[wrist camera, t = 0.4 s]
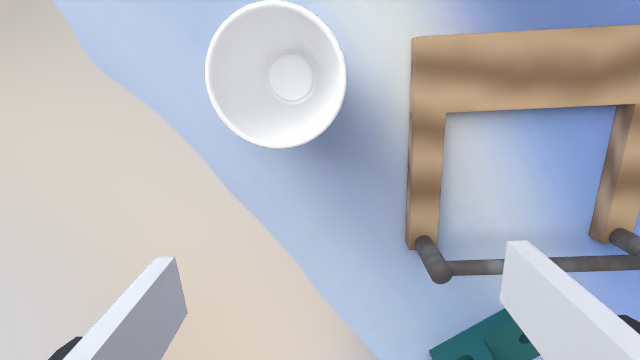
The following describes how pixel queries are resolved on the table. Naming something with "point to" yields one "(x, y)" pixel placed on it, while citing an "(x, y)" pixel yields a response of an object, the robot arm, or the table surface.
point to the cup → (276, 74)
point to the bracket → (488, 342)
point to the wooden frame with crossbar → (526, 93)
